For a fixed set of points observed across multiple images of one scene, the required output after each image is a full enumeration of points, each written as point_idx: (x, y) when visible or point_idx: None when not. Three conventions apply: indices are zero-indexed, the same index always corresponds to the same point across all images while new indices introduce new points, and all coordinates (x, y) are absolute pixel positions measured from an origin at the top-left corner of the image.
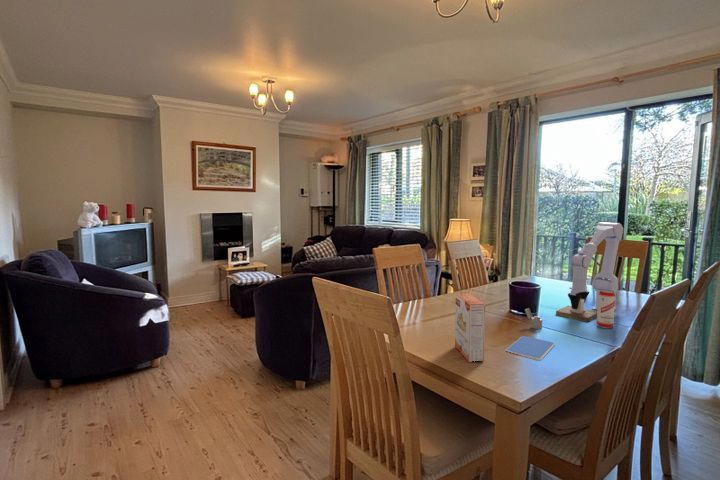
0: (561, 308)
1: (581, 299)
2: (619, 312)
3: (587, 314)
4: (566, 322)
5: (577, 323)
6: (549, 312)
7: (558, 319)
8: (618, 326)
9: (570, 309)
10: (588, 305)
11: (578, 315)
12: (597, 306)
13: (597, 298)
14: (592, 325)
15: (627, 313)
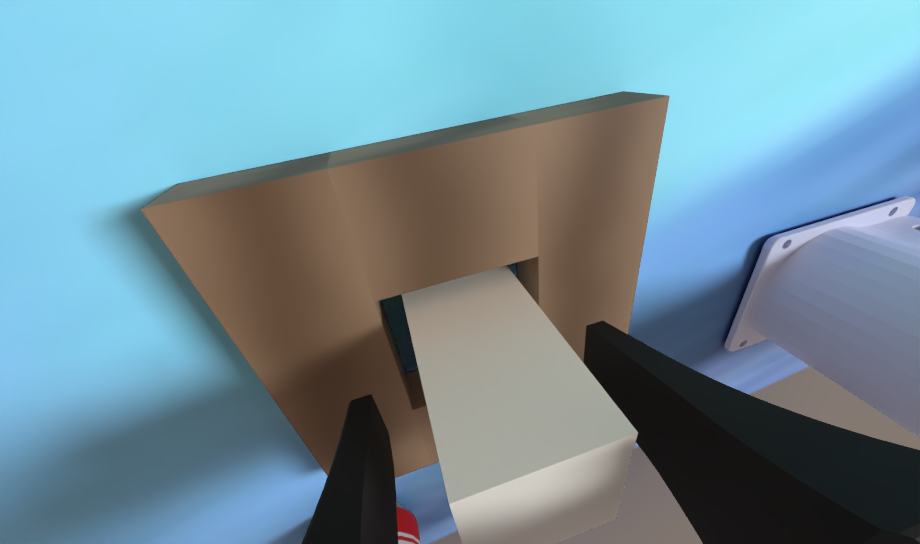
0: (396, 157)
1: (566, 527)
2: (761, 356)
3: None
4: (71, 438)
5: (195, 469)
6: (155, 8)
7: (30, 344)
8: (447, 521)
9: (471, 259)
10: (897, 134)
11: (311, 444)
12: (797, 283)
13: (913, 329)
14: (294, 507)
15: (759, 380)
